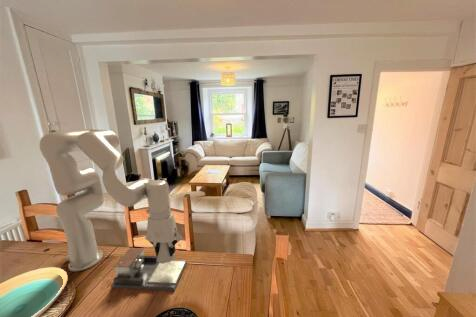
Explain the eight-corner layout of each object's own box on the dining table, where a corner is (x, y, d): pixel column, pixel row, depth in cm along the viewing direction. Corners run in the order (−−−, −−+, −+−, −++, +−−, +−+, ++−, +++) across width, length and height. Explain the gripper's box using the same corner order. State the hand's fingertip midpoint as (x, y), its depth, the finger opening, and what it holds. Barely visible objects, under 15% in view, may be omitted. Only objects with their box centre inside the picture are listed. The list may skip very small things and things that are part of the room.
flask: (178, 251, 81) (176, 230, 79) (170, 264, 74) (168, 241, 72) (162, 250, 82) (159, 229, 79) (153, 263, 75) (149, 241, 72)
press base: (111, 287, 74) (110, 280, 73) (133, 261, 88) (132, 254, 87) (174, 290, 72) (173, 283, 72) (186, 263, 86) (185, 256, 85)
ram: (116, 280, 76) (113, 265, 74) (132, 260, 85) (130, 248, 84) (135, 280, 75) (132, 266, 74) (148, 261, 85) (146, 248, 83)
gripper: (133, 217, 70) (140, 260, 74) (178, 218, 69) (183, 261, 73) (144, 207, 78) (150, 247, 82) (185, 208, 76) (189, 248, 80)
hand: (165, 253), depth 77 cm, fingers closed on flask, 4 cm apart
